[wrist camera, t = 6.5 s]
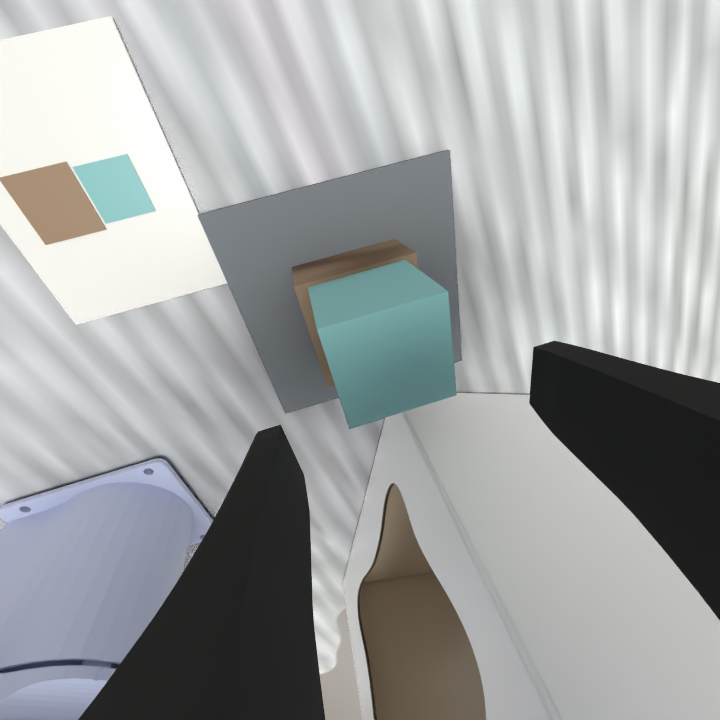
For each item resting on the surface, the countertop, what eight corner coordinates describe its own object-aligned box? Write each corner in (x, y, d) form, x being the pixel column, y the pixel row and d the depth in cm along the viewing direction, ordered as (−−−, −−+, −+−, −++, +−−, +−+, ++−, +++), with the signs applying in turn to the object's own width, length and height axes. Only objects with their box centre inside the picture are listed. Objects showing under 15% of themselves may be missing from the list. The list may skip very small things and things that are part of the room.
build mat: (285, 409, 20) (285, 413, 19) (199, 214, 14) (197, 215, 14) (458, 357, 20) (461, 360, 20) (445, 150, 15) (449, 149, 14)
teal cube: (333, 370, 15) (349, 429, 12) (307, 287, 13) (317, 330, 9) (417, 344, 15) (456, 395, 12) (404, 259, 13) (448, 291, 10)
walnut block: (320, 356, 18) (327, 387, 15) (291, 267, 15) (293, 286, 13) (408, 331, 18) (429, 357, 16) (394, 238, 16) (416, 252, 13)
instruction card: (77, 323, 15) (75, 325, 15) (-115, 66, 10) (-121, 65, 10) (229, 281, 15) (228, 283, 15) (112, 17, 11) (110, 15, 10)
